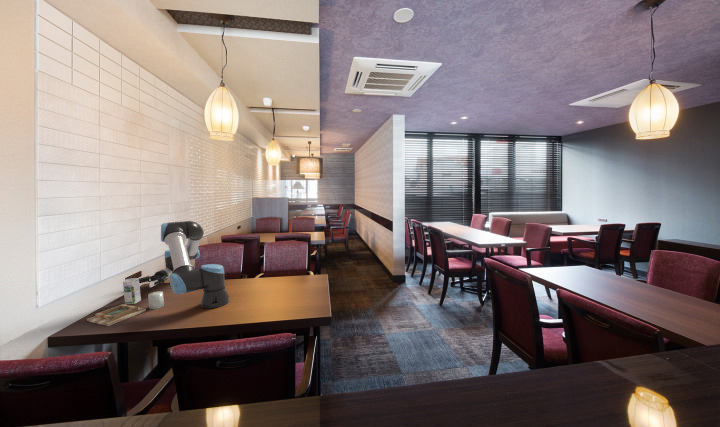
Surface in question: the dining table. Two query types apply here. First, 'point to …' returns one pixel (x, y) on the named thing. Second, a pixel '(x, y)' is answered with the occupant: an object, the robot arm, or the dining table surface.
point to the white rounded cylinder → (156, 300)
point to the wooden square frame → (115, 314)
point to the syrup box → (131, 291)
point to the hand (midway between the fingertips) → (139, 285)
